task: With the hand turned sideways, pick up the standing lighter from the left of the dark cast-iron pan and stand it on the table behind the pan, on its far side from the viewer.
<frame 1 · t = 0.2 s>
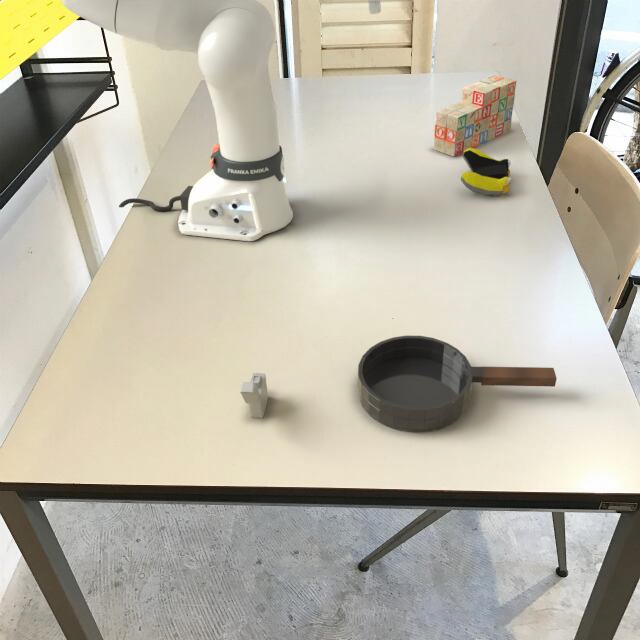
hand: (375, 5, 113), 39 cm above the table, tool pointing down, fingers open, 8 cm apart
pan handle: (512, 376, 93), point 3 cm above the table
stack of blocks: (472, 141, 165), on the table
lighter: (257, 415, 94), on the table
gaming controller: (484, 186, 146), on the table
pan: (413, 392, 96), on the table
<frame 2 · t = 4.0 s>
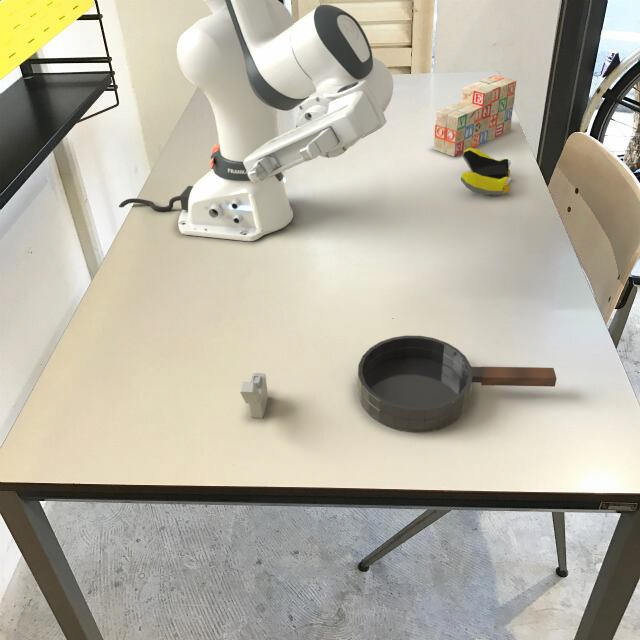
hand: (279, 166, 88), 29 cm above the table, tool horizontal, fingers open, 8 cm apart
nothing on the table moved.
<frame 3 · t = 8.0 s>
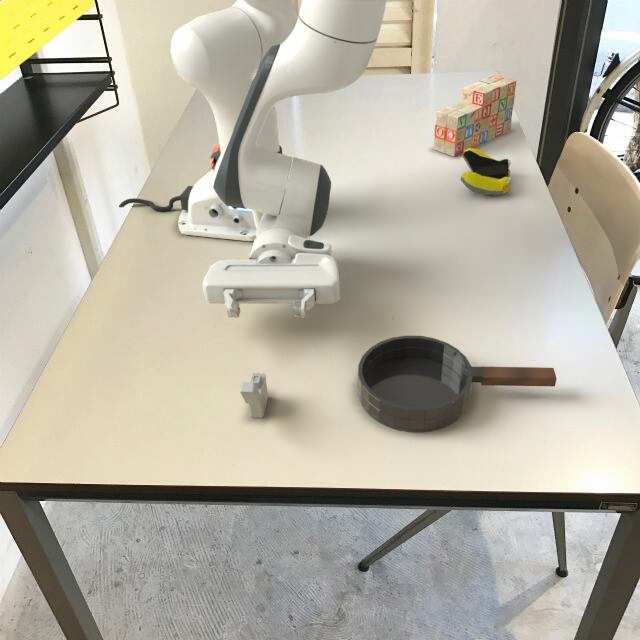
hand: (265, 313, 98), 8 cm above the table, tool horizontal, fingers open, 8 cm apart
nothing on the table moved.
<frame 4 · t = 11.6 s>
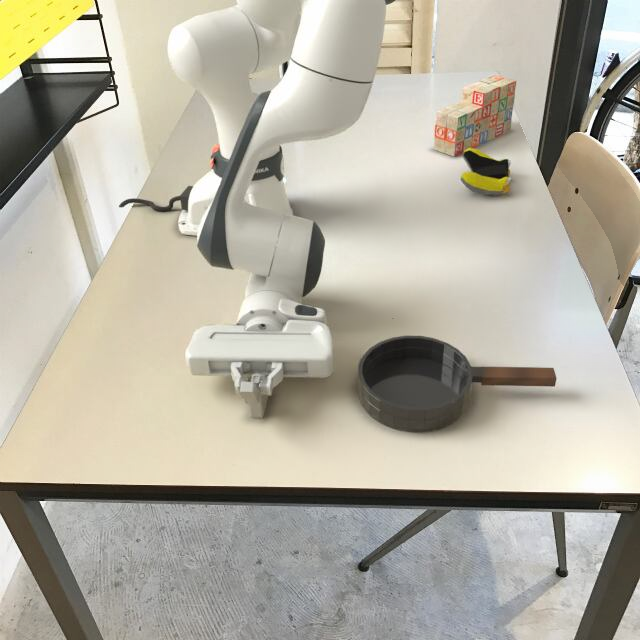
hand: (253, 391, 90), 5 cm above the table, tool horizontal, fingers closed on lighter, 2 cm apart
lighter: (257, 415, 94), on the table, touching gripper
everything else where it was.
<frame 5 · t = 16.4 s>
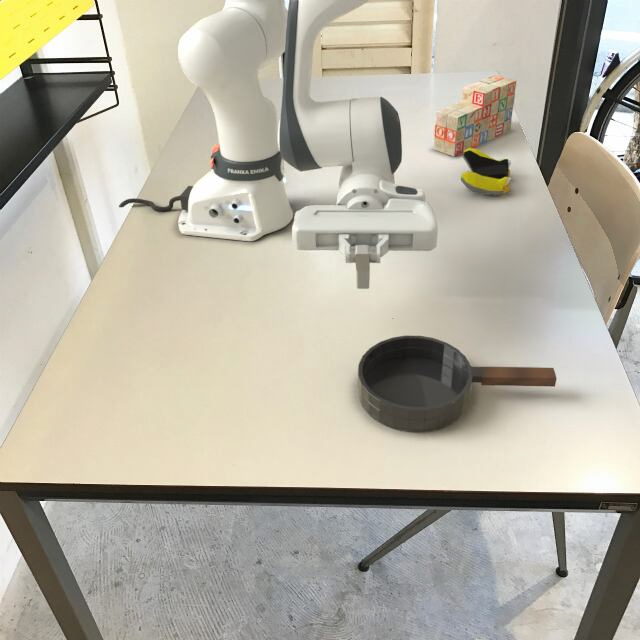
hand: (363, 258, 92), 17 cm above the table, tool horizontal, fingers closed on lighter
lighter: (363, 287, 96), point 12 cm above the table, touching gripper
everything else where it was.
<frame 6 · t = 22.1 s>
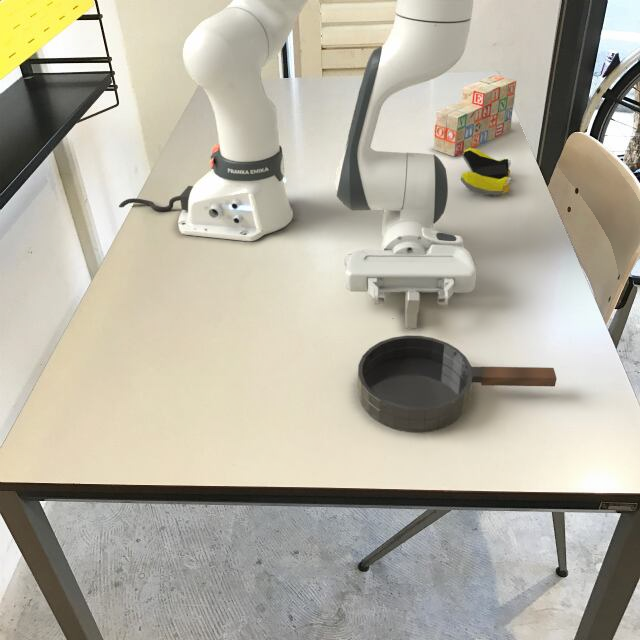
hand: (411, 301, 104), 5 cm above the table, tool horizontal, fingers open, 8 cm apart
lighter: (410, 327, 108), on the table
everything else where it was.
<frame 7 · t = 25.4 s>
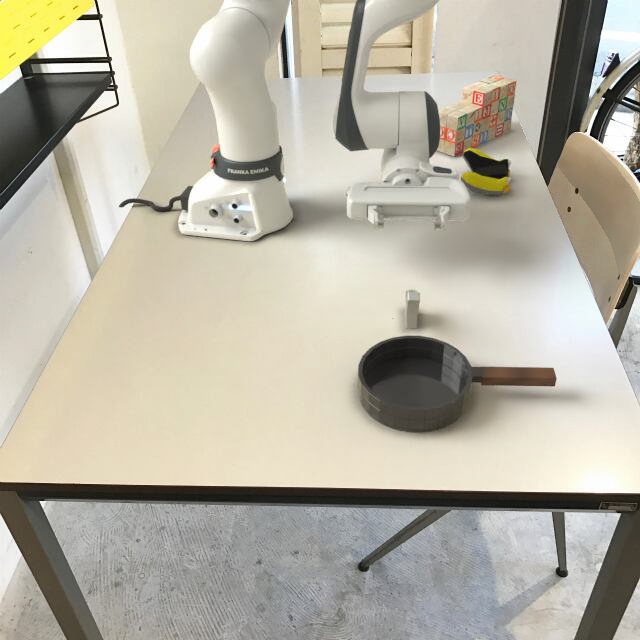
hand: (409, 225, 110), 12 cm above the table, tool horizontal, fingers open, 8 cm apart
nothing on the table moved.
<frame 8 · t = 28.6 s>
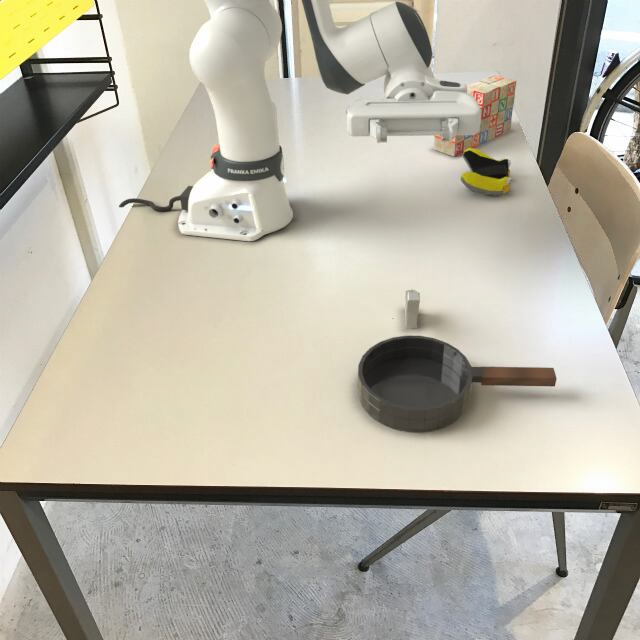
hand: (414, 137, 101), 26 cm above the table, tool horizontal, fingers open, 8 cm apart
nothing on the table moved.
at the end: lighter inside the target area on the table beside the pan (0.5 cm from its centre), on the table; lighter tilted 0°; the gripper is holding nothing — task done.
